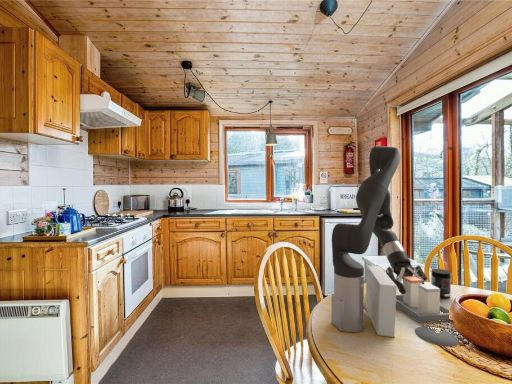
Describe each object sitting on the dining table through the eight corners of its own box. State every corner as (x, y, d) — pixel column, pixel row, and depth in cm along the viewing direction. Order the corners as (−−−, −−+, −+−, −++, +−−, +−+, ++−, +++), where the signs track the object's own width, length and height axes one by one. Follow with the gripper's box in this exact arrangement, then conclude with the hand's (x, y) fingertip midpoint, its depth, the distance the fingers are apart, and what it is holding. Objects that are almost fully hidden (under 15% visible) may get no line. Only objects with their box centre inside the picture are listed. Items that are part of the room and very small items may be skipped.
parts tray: (457, 321, 94) (457, 313, 94) (419, 323, 92) (419, 316, 92) (420, 299, 111) (420, 293, 111) (388, 301, 110) (388, 295, 110)
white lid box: (439, 317, 96) (440, 288, 95) (427, 318, 95) (427, 289, 95) (429, 311, 100) (430, 283, 100) (417, 312, 100) (418, 284, 99)
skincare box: (396, 338, 84) (397, 285, 84) (377, 336, 85) (377, 284, 85) (380, 307, 105) (380, 265, 104) (364, 306, 106) (365, 264, 105)
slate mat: (435, 350, 78) (435, 348, 78) (406, 329, 89) (406, 328, 89) (468, 345, 80) (468, 343, 80) (436, 325, 91) (436, 324, 91)
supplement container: (438, 292, 119) (439, 268, 118) (454, 298, 112) (455, 272, 112) (426, 294, 116) (427, 269, 116) (442, 300, 110) (442, 274, 110)
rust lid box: (422, 306, 104) (422, 280, 104) (410, 307, 103) (410, 280, 103) (413, 301, 109) (413, 276, 108) (402, 302, 108) (402, 276, 108)
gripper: (383, 250, 112) (401, 289, 101) (416, 249, 114) (437, 287, 103) (376, 260, 117) (392, 298, 106) (407, 258, 119) (427, 296, 108)
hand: (414, 292), depth 105 cm, fingers open, 8 cm apart
